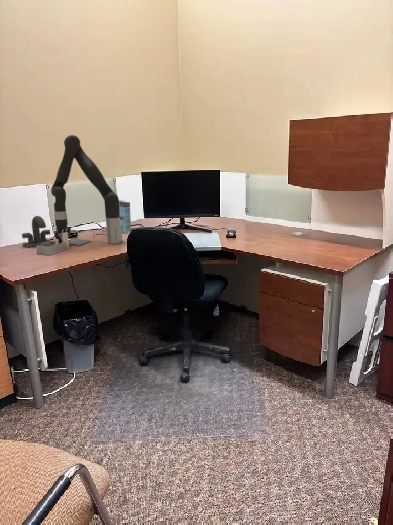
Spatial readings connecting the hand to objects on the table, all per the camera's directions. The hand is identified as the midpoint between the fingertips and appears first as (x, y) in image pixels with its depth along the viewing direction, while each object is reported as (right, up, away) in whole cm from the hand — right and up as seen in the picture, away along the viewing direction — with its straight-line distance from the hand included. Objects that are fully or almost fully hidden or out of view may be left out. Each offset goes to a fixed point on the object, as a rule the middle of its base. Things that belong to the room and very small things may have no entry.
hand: (63, 244), depth 269 cm
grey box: (-4, -5, -7) cm, 10 cm away
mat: (+5, +1, +11) cm, 13 cm away
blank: (0, -2, +1) cm, 2 cm away
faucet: (-17, -1, +6) cm, 18 cm away
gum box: (+30, +12, +45) cm, 55 cm away
